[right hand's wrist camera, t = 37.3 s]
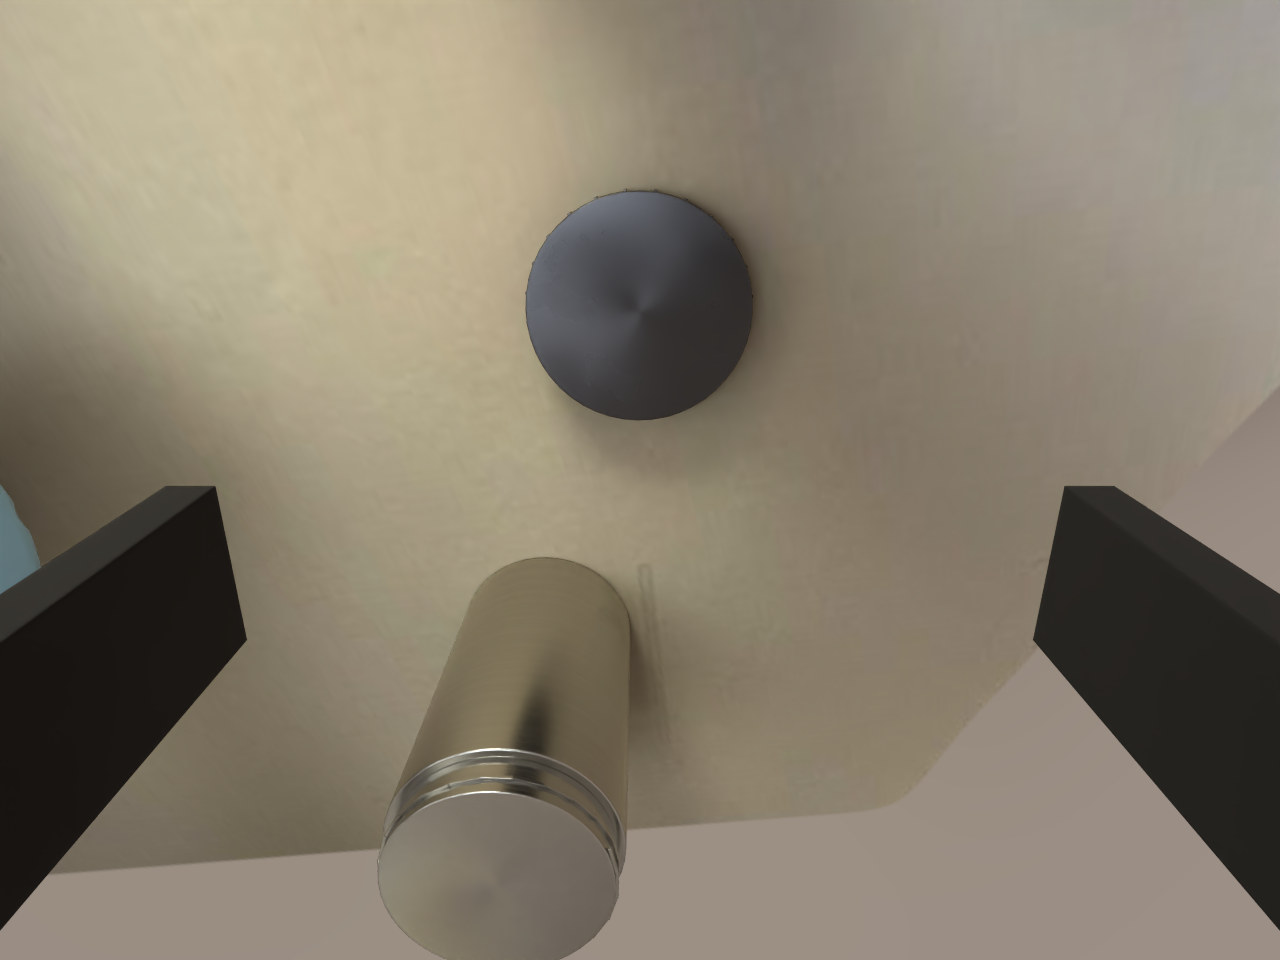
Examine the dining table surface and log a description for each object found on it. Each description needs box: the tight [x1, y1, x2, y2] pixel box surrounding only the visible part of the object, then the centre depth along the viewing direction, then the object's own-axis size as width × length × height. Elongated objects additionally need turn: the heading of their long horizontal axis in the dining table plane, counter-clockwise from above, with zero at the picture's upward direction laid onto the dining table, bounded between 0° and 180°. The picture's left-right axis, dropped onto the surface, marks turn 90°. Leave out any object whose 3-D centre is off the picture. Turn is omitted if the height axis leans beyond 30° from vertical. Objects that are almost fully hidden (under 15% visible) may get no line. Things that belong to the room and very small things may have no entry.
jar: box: [377, 558, 631, 960], centre depth 37 cm, size 9×9×18 cm
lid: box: [526, 189, 753, 420], centre depth 38 cm, size 11×11×2 cm
